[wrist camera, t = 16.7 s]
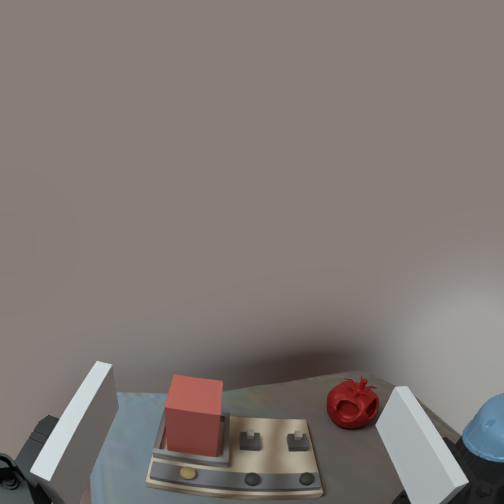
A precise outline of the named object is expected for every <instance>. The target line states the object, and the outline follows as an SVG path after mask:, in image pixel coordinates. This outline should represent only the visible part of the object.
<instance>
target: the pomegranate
mask: <svg viewBox="0 0 504 504" xmlns="http://www.w3.org/2000/svg"><path fill="white" fill-rule="evenodd" d="M344 379H345V378H344ZM346 380H349V381H344V382H342V383H340V384H339V385H338V386H336V387H334V388H333V389H332V390H331V391H330V393H329V394H328V397H327V412H328V414H329V416H330V418H331V419H332V420H333V422H334V423H336V424H337V425H338V426H340V427H343V428H359V427H362V426H364V425H365V424H367V423H369V422H370V421H371V420H372V419H373V418H374V416H375V414H376V413H377V409H378V405H379V399H378V396H377V395H376V394H375V393H374V392H373V391H372V390H370V388H377V387H373V386H369V387H366V386H365V385H366V384H367V382H368V381H367V380H366V379H362V377H361V382H360V383H357V382H353V380H352V379H346Z"/></svg>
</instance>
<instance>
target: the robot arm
mask: <svg viewBox="0 0 504 504" xmlns="http://www.w3.org/2000/svg"><path fill="white" fill-rule="evenodd" d="M118 408H119V406H118V400H117V394H116V388H115V382H114V375H113V367H112V365H111V364H107V363H103V362H99V361H97V362H96V363H95V365H94V366H93V368H92V370H91V371H90V372H89V374H88V375H87V377H86V379H85V380H84V382H83V383H82V385H81V386H80V388H79V389H78V391H77V392H76V394H75V396H74V397H73V399H72V400H71V402H70V403H69V405H68V407H67V408H66V410H65V412H64V413H63V415H62V416H61V418H60V419H58V418H55V417H53V416H50V415H48V416H46V417H45V418H44V419H42V420H41V421H39V423H38V424H37V426H36V427H35V429H34V432H32V434H31V435H30V437H29V439H28V440H27V441H26V443H25V445H24V446H23V448H22V450H21V451H20V453H19V454H18V456H17V458H16V459H15V461H14V460H13V459H12V458H11V457H10V456H8V455H6V454H4V453H0V504H51V503H52V502H53V504H79V503H80V500H81V497H82V494H83V492H84V489H85V487H86V484H87V482H88V479H89V477H90V474H91V472H92V469H93V467H94V464H95V462H96V459H97V457H98V455H99V452H100V450H101V447H102V445H103V443H104V440H105V438H106V436H107V433H108V431H109V429H110V426H111V424H112V422H113V420H114V417H115V415H116V413H117V411H118ZM375 426H376V428H377V430H378V432H379V434H380V436H381V438H382V440H383V442H384V445H385V447H386V449H387V451H388V453H389V455H390V458H391V460H392V462H393V464H394V466H395V468H396V471H397V473H398V475H399V477H400V479H401V482H402V484H403V486H404V488H405V489H404V490H403V491H402V492H401V493H400V494H399V495H398V496H397V497H396V498H395V500H394V501H393V502H392V504H504V393H502V394H499V395H496V396H494V397H492V398H491V399H489V400H488V401H487V402H486V403H485V404H484V405H483V406H482V407H481V408H480V410H479V411H478V413H477V414H476V415H475V417H474V418H473V420H471V421H470V422H469V423H468V424H467V426H466V427H465V429H464V431H463V435H462V436H461V437H460V439H459V440H458V441H457V443H456V444H455V445H454V443H453V442H451V441H450V440H449V439H448V438H446V437H444V438H441V436H440V435H439V433H438V431H437V430H436V428H435V427H434V425H433V424H432V422H431V421H430V419H429V418H428V416H427V415H426V413H425V412H424V410H423V409H422V407H421V406H420V404H419V403H418V401H417V400H416V398H415V397H414V395H413V394H412V393H411V391H410V390H409V388H408V387H407V386H403V387H395V388H394V390H393V392H392V394H391V396H390V398H389V400H388V402H387V404H386V406H385V408H384V410H383V412H382V414H381V416H380V418H379V419H378V421H377V423H376V425H375Z"/></svg>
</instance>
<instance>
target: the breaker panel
mask: <svg viewBox="0 0 504 504" xmlns="http://www.w3.org/2000/svg"><path fill="white" fill-rule="evenodd" d="M152 453H153V455H152V459H151V463H150V467H149V470H148V474H147V478H146V485H147V487H151V488H156V489H161V490H167V491H172V492H178V493H185V494H192V495H199V496H208V497H218V498H231V499H253V500H283V499H305V498H318V497H321V495H322V494H323V489H322V485H321V481H320V477H319V473H318V468H317V464H316V460H315V456H314V452H313V448H312V443H311V439H310V435H309V431H308V427H307V423H306V420H289V419H262V418H246V417H234V416H230V413H224V412H221V415H220V423H219V432H218V440H217V449H216V457H207V456H199V455H192V454H185V453H179V452H173V451H167V439H166V425H165V408H164V411H163V415H162V419H161V422H160V426H159V429H158V433H157V437H156V440H155V444H154V448H153V452H152Z"/></svg>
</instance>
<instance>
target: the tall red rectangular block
mask: <svg viewBox="0 0 504 504" xmlns="http://www.w3.org/2000/svg"><path fill="white" fill-rule="evenodd" d="M222 385H223V381H218V380H209V379H201V378H194V377H187V376H180V375H174V376H173V380H172V383H171V387H170V390H169V393H168V397H167V400H166V404H165V425H166V439H167V451H173V452H179V453H185V454H192V455H199V456H207V457H216V449H217V440H218V432H219V423H220V415H221V400H222Z"/></svg>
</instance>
